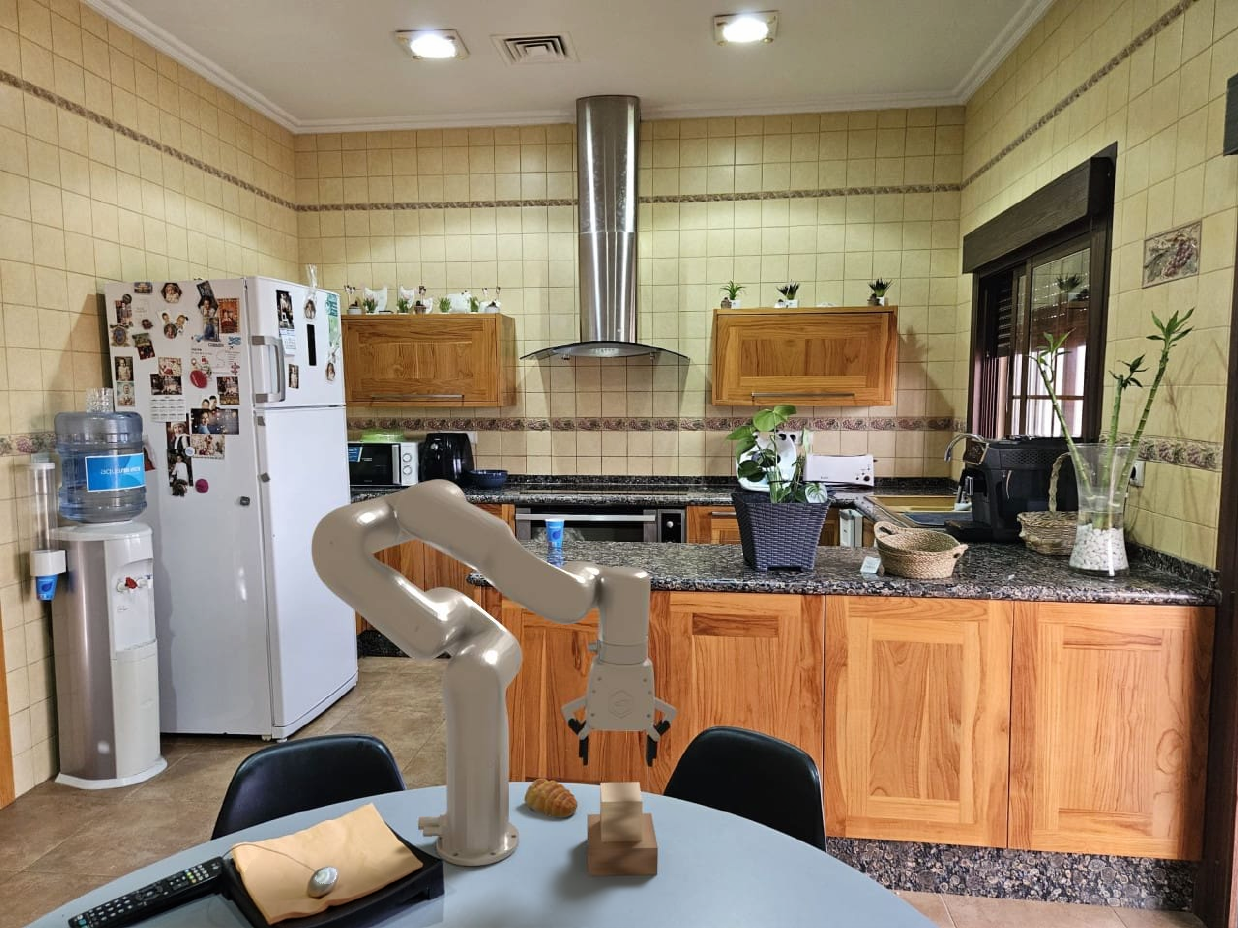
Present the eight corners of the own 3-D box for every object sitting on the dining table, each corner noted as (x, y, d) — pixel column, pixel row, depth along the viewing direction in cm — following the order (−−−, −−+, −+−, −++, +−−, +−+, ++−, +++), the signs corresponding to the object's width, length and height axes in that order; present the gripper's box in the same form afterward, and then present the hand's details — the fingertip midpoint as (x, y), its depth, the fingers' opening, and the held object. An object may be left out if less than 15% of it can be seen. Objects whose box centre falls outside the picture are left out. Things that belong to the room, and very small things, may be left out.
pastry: (587, 809, 135) (587, 787, 134) (560, 825, 129) (560, 803, 129) (547, 792, 140) (547, 771, 140) (519, 807, 135) (519, 785, 135)
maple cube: (601, 841, 117) (601, 801, 116) (600, 820, 123) (600, 782, 122) (642, 840, 117) (642, 801, 117) (638, 819, 123) (639, 782, 123)
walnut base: (588, 875, 115) (588, 848, 115) (587, 838, 125) (587, 814, 125) (657, 874, 116) (657, 847, 115) (650, 837, 125) (651, 812, 125)
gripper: (563, 657, 114) (559, 772, 115) (683, 660, 115) (677, 774, 116) (564, 641, 121) (560, 750, 123) (676, 644, 122) (671, 752, 124)
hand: (617, 762), depth 119 cm, fingers open, 9 cm apart
